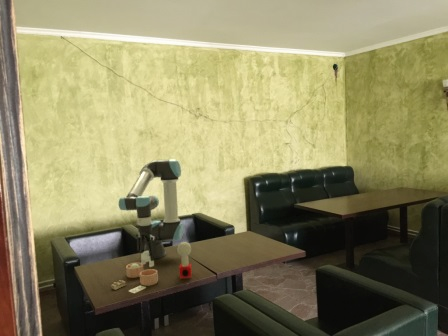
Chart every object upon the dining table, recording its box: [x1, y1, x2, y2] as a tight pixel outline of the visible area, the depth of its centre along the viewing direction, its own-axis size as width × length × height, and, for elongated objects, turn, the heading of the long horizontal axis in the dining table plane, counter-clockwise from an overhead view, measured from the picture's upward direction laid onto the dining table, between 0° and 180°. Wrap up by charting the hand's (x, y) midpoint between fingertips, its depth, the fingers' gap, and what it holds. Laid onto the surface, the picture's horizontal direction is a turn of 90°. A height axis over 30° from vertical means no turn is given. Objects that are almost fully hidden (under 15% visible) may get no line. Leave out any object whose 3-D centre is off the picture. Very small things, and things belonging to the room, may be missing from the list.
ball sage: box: [130, 264, 140, 268], centre depth 218 cm, size 6×6×6 cm
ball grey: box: [142, 251, 150, 263], centre depth 204 cm, size 6×6×6 cm
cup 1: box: [125, 262, 145, 279], centre depth 218 cm, size 9×9×6 cm
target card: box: [128, 284, 147, 294], centre depth 197 cm, size 5×8×1 cm, turn 142°
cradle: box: [111, 279, 127, 290], centre depth 202 cm, size 3×7×3 cm, turn 142°
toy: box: [176, 241, 193, 279], centre depth 211 cm, size 8×8×20 cm
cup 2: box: [139, 268, 159, 287], centre depth 205 cm, size 9×9×6 cm
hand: (147, 265), depth 204 cm, fingers closed on ball grey, 6 cm apart
